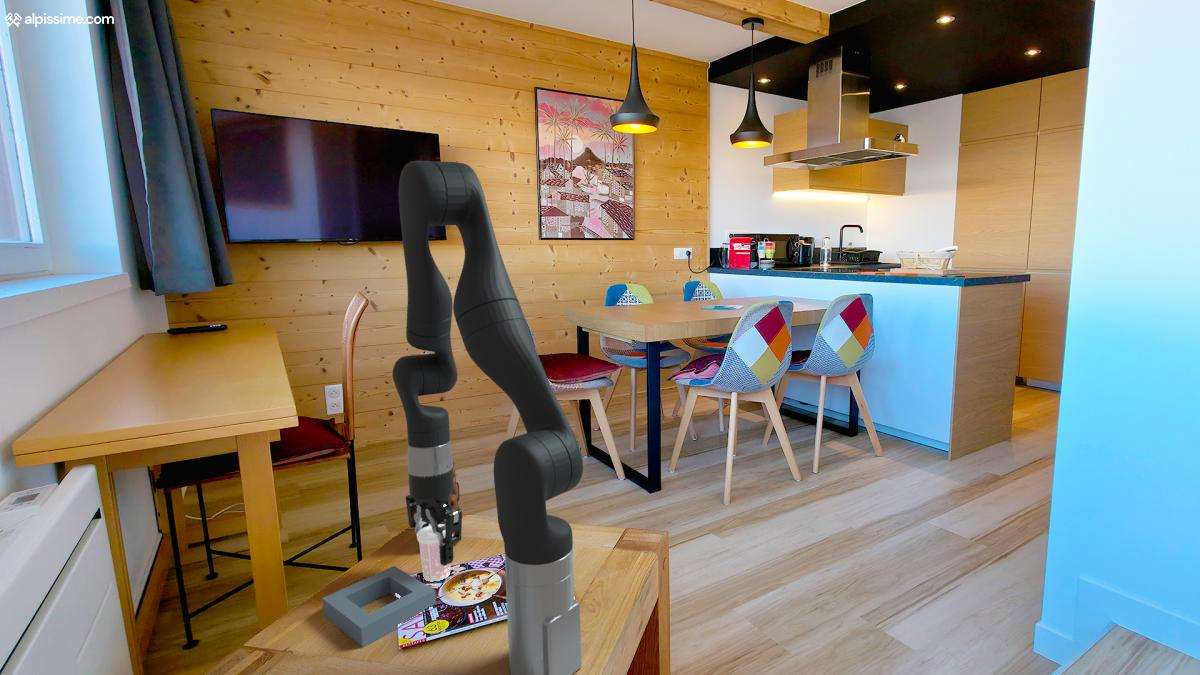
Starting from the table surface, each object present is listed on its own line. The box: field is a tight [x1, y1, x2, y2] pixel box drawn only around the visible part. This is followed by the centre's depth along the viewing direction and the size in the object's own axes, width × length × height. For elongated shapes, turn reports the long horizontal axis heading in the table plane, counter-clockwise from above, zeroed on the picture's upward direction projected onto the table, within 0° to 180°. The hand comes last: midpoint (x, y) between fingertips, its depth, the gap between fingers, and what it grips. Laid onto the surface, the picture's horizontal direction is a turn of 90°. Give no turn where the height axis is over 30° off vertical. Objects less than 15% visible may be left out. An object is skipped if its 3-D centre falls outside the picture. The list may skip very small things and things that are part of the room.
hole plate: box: [321, 565, 437, 648], centre depth 92 cm, size 13×13×3 cm
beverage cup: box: [416, 524, 452, 582], centre depth 101 cm, size 6×6×14 cm
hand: (435, 557), depth 101 cm, fingers closed on beverage cup, 6 cm apart
